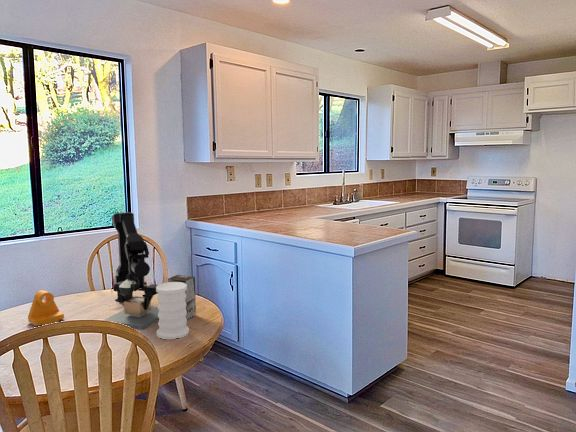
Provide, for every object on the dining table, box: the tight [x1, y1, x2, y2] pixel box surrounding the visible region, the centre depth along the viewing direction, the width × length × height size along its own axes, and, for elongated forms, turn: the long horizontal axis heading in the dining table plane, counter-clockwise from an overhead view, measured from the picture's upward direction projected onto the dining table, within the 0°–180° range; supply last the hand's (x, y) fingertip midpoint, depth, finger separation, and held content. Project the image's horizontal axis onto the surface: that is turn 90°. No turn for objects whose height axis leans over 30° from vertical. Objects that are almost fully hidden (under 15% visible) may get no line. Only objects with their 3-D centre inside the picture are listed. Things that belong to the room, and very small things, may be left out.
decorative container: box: [156, 281, 190, 340], centre depth 162 cm, size 12×12×18 cm
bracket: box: [27, 289, 65, 327], centre depth 174 cm, size 11×7×12 cm, turn 139°
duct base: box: [104, 298, 159, 330], centre depth 179 cm, size 20×18×7 cm
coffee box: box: [167, 274, 197, 320], centre depth 180 cm, size 9×6×16 cm
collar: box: [123, 295, 152, 316], centre depth 179 cm, size 7×7×5 cm
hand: (138, 308), depth 179 cm, fingers closed on collar, 7 cm apart
